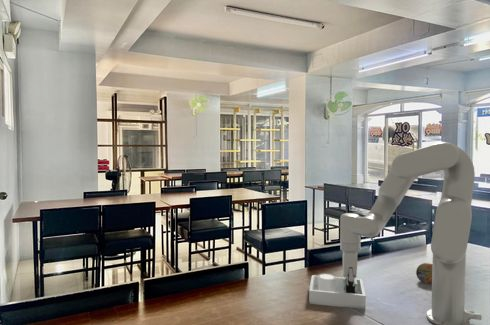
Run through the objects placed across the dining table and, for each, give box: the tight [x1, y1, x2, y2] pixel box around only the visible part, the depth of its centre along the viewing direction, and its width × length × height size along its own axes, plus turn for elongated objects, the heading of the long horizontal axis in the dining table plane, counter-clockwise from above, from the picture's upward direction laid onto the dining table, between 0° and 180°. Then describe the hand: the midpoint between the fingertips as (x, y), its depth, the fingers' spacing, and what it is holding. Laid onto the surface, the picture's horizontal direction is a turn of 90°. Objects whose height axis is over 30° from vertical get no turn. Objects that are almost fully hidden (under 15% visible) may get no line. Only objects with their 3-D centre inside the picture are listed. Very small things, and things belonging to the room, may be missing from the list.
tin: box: [415, 262, 432, 285], centre depth 147 cm, size 15×3×8 cm, turn 62°
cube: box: [342, 277, 358, 294], centre depth 133 cm, size 5×5×5 cm
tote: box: [308, 274, 367, 310], centre depth 135 cm, size 20×16×5 cm
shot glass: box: [317, 273, 337, 292], centre depth 136 cm, size 7×7×7 cm
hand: (350, 291), depth 133 cm, fingers closed on cube, 4 cm apart
